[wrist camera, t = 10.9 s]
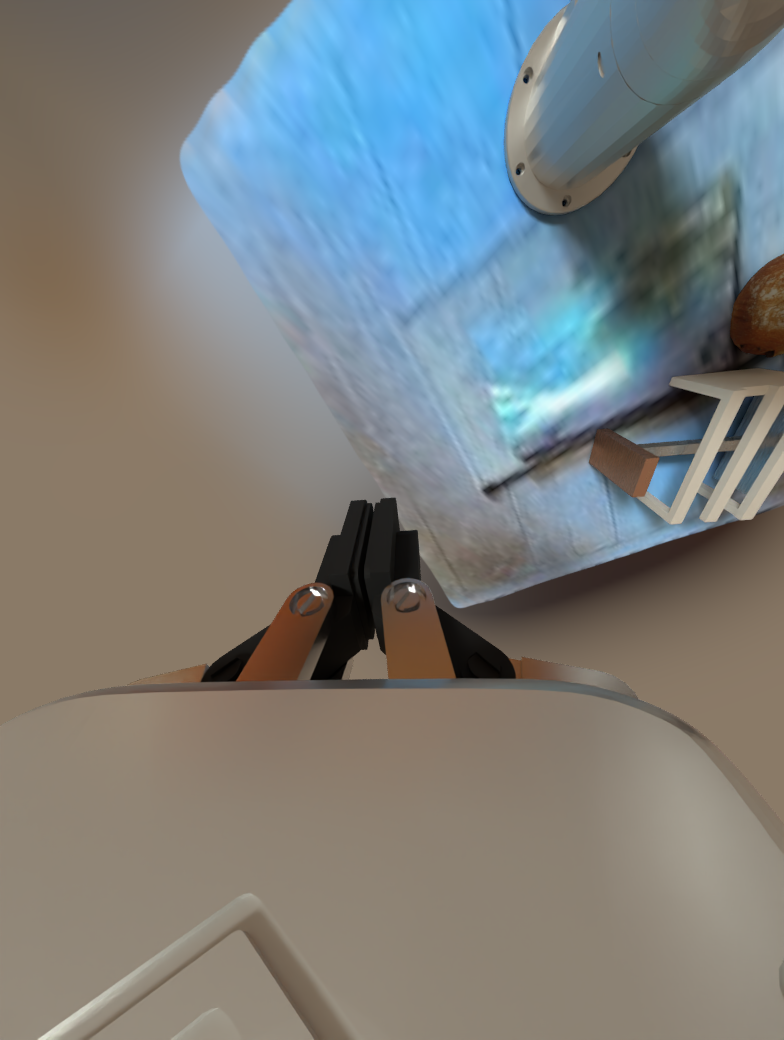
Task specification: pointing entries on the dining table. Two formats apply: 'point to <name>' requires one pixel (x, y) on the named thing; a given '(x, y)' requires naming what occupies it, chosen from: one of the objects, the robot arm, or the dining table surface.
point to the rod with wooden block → (639, 461)
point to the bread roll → (761, 312)
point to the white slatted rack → (732, 393)
